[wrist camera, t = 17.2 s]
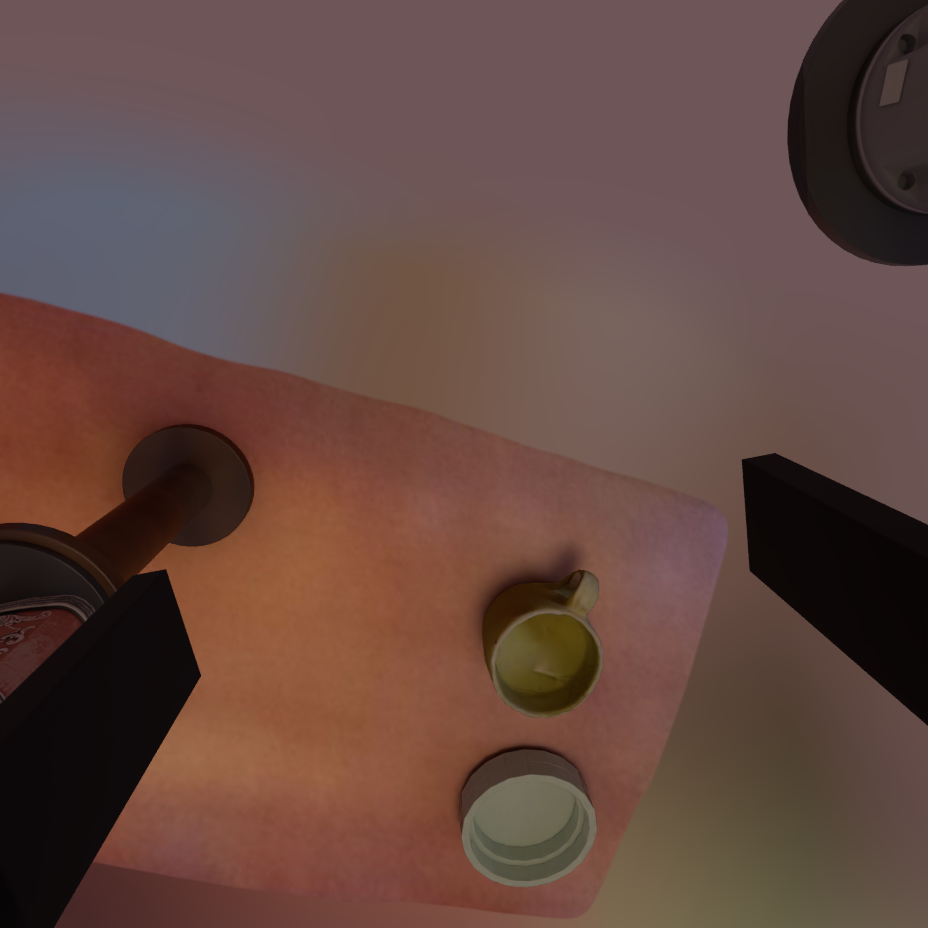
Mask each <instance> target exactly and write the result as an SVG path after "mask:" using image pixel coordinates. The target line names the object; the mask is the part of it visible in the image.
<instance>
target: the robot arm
mask: <svg viewBox="0 0 928 928" xmlns="http://www.w3.org/2000/svg"><path fill="white" fill-rule="evenodd" d="M847 131H848V142H849V149H850V153H851V157H852V160H853V163H854V166H855V168H856V170H857V172H858V174H859V176H860V178H861V180H862V181H863V183H864V184H865V185H866V187H867V188H868V189H869V191H870V192H871V193H872V194H873V195H874V196H875V197H877V198H878V199H879V200H880V201H882V202H883V203H885V204H886V205H888V206H889V207H891V208H894V209H896V210H898V211H901V212H904V213H908V214H913V215H928V4H927V5H926V6H924V7H922V8H920V9H918V10H917V11H915V12H913V13H912V14H910V15H908V16H907V17H905V18H904V19H902V20H901V21H900V22H898V23H897V24H896V25H895V26H893V27H892V28H891V29H890V30H889V31H888V32H887V33H886V34H885V35H884V36H883V37H882V38H881V39H880V41H879V42H878V43H877V44H876V46H875V47H874V48H873V50H872V51H871V53H870V54H869V56H868V57H867V59H866V61H865V63H864V64H863V66H862V68H861V70H860V72H859V75H858V77H857V80H856V82H855V85H854V88H853V91H852V95H851V99H850V104H849V110H848V123H847ZM742 469H743V482H744V497H745V511H746V525H747V539H748V553H749V568H750V571H751V572H752V573H753V574H754V575H755V576H756V577H758V578H759V579H760V580H761V581H762V582H763V583H765V584H766V585H767V586H768V587H769V588H770V589H771V590H773V591H774V592H775V593H776V594H777V595H778V596H779V597H780V598H782V599H783V600H784V601H785V602H786V603H787V604H789V605H790V606H791V607H792V608H793V609H794V610H796V611H797V612H798V613H799V614H800V615H801V616H802V617H804V618H805V619H806V620H807V621H808V622H809V623H811V624H812V625H813V626H814V627H815V628H816V629H817V630H818V631H820V632H821V633H822V634H823V635H824V636H825V637H826V638H828V639H829V640H830V641H831V642H832V643H833V644H834V645H836V646H837V647H838V648H839V649H840V650H841V651H843V652H844V653H845V654H846V655H847V656H848V657H849V658H851V659H852V660H853V661H854V662H855V663H857V665H859V666H860V667H861V668H862V669H863V670H864V671H866V672H867V673H868V674H869V675H870V676H871V677H872V678H874V679H875V680H876V681H877V682H878V683H879V684H880V685H882V686H883V687H884V688H885V689H886V690H887V691H888V692H890V693H891V694H892V695H893V696H894V697H895V698H897V699H898V700H899V701H900V702H901V703H902V704H903V705H905V706H906V707H907V708H908V709H909V710H910V711H911V712H913V713H914V714H915V715H916V716H917V717H918V718H920V719H921V720H922V721H923V722H924V723H925V724H926V725H928V525H927V524H925V523H923V522H921V521H918V520H916V519H914V518H912V517H910V516H908V515H906V514H904V513H902V512H900V511H897V510H895V509H893V508H891V507H889V506H887V505H885V504H882V503H880V502H878V501H876V500H874V499H872V498H870V497H868V496H865V495H863V494H861V493H859V492H857V491H855V490H853V489H850V488H848V487H846V486H844V485H842V484H840V483H838V482H836V481H833V480H831V479H829V478H827V477H825V476H823V475H821V474H819V473H816V472H814V471H812V470H810V469H808V468H806V467H804V466H802V465H799V464H797V463H795V462H793V461H791V460H789V459H787V458H784V457H782V456H780V455H778V454H776V453H773V454H768V455H763V456H758V457H753V458H747V459H742ZM200 677H201V674H200V671H199V668H198V665H197V662H196V659H195V656H194V653H193V650H192V647H191V644H190V641H189V638H188V635H187V632H186V628H185V625H184V622H183V619H182V616H181V613H180V610H179V607H178V604H177V601H176V598H175V595H174V592H173V589H172V586H171V583H170V580H169V577H168V574H167V571H166V569H165V570H159V571H154V572H149V573H144V574H138V575H133V576H131V577H130V578H129V579H128V580H127V581H126V582H125V583H124V584H123V585H122V586H121V587H120V588H119V589H118V590H117V591H116V592H115V593H114V594H113V595H112V596H111V597H110V598H109V599H108V600H107V601H106V602H105V603H104V604H103V605H102V606H100V607H99V608H98V609H97V610H96V611H95V612H94V613H93V614H92V615H91V616H90V617H89V618H88V619H87V620H86V621H85V622H84V623H83V624H82V625H81V626H80V627H79V628H78V629H77V630H76V631H75V632H74V633H73V634H72V635H71V636H70V637H69V638H68V639H67V640H65V641H64V642H63V643H62V644H61V645H60V646H59V647H58V648H57V649H56V650H55V651H54V652H53V653H52V654H51V655H50V656H49V657H48V658H47V659H46V660H45V661H44V662H43V663H42V664H41V665H40V666H39V667H38V668H37V669H36V670H35V671H34V672H33V673H31V674H30V675H29V676H28V677H27V678H26V679H25V680H24V681H23V682H22V683H21V684H20V685H19V686H18V687H17V688H16V689H15V690H14V691H13V692H12V693H11V694H10V695H9V696H8V697H7V698H6V699H5V700H4V701H3V702H2V703H1V704H0V928H54V927H55V925H56V923H57V921H58V920H59V918H60V916H61V914H62V913H63V911H64V909H65V907H66V906H67V904H68V903H69V901H70V899H71V897H72V896H73V894H74V892H75V890H76V889H77V887H78V885H79V884H80V882H81V880H82V879H83V877H84V875H85V873H86V872H87V870H88V868H89V867H90V865H91V863H92V862H93V860H94V858H95V856H96V855H97V853H98V851H99V850H100V848H101V846H102V844H103V843H104V841H105V839H106V838H107V836H108V834H109V832H110V831H111V829H112V827H113V826H114V824H115V822H116V821H117V819H118V817H119V815H120V814H121V812H122V810H123V809H124V807H125V805H126V803H127V802H128V800H129V798H130V797H131V795H132V793H133V791H134V790H135V788H136V786H137V785H138V783H139V781H140V779H141V778H142V776H143V774H144V773H145V771H146V769H147V767H148V766H149V764H150V762H151V761H152V759H153V757H154V756H155V754H156V752H157V750H158V749H159V747H160V745H161V744H162V742H163V740H164V738H165V737H166V735H167V733H168V732H169V730H170V728H171V726H172V725H173V723H174V721H175V720H176V718H177V716H178V714H179V713H180V711H181V709H182V708H183V706H184V704H185V702H186V701H187V699H188V697H189V696H190V694H191V692H192V691H193V689H194V687H195V685H196V684H197V682H198V680H199V679H200Z"/></svg>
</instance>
